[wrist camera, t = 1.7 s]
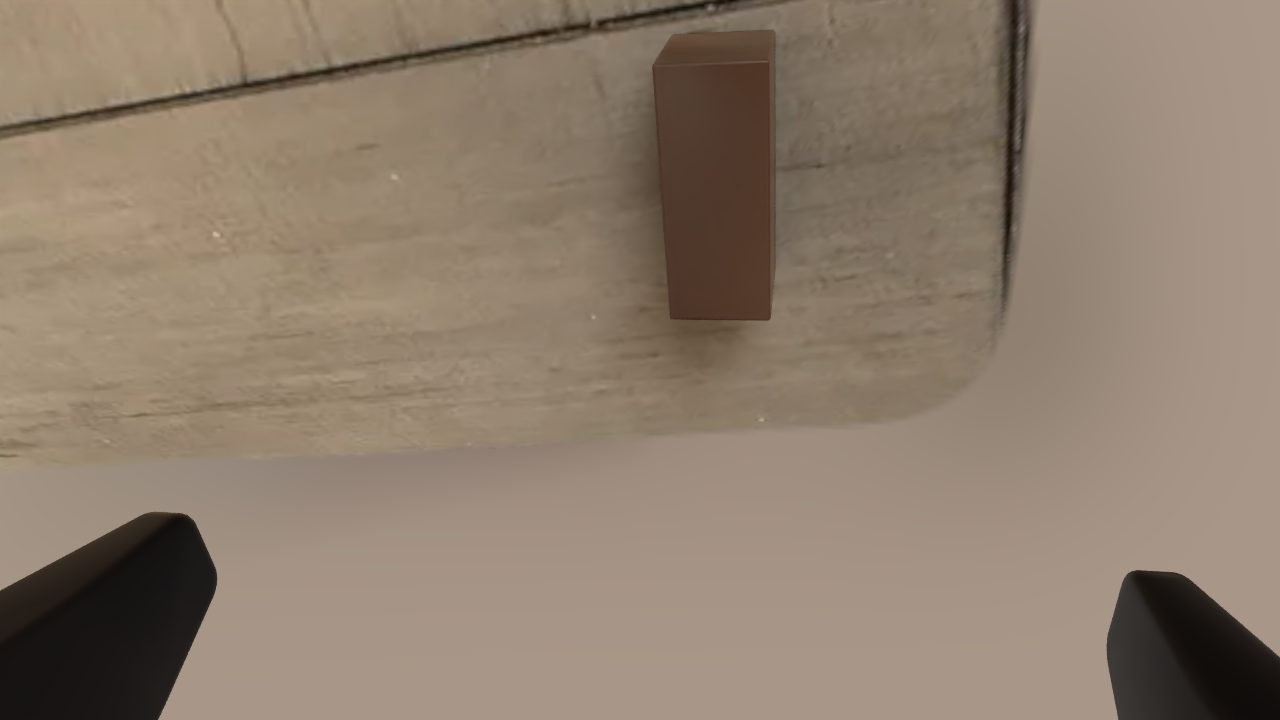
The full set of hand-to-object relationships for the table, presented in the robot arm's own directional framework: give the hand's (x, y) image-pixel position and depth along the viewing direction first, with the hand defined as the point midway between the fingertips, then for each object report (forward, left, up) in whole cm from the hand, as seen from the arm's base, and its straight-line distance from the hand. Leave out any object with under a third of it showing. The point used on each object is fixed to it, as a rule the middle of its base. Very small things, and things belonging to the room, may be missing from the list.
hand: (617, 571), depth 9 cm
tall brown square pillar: (0, 0, -12) cm, 12 cm away
